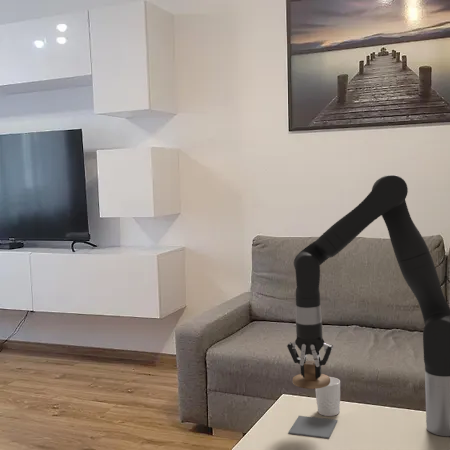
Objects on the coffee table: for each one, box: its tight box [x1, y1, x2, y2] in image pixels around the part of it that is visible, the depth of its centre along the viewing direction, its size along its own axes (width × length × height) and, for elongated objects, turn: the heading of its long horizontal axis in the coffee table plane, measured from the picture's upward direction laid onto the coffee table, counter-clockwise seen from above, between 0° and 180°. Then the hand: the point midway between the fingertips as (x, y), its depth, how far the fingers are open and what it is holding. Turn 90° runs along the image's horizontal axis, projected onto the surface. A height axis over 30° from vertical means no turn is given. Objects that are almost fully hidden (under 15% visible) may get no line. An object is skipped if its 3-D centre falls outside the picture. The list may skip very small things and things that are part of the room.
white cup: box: [315, 376, 341, 417], centre depth 183 cm, size 8×8×10 cm
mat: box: [287, 415, 339, 439], centre depth 173 cm, size 12×12×1 cm
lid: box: [292, 360, 331, 390], centre depth 172 cm, size 11×11×6 cm
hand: (311, 377), depth 172 cm, fingers closed on lid, 3 cm apart
